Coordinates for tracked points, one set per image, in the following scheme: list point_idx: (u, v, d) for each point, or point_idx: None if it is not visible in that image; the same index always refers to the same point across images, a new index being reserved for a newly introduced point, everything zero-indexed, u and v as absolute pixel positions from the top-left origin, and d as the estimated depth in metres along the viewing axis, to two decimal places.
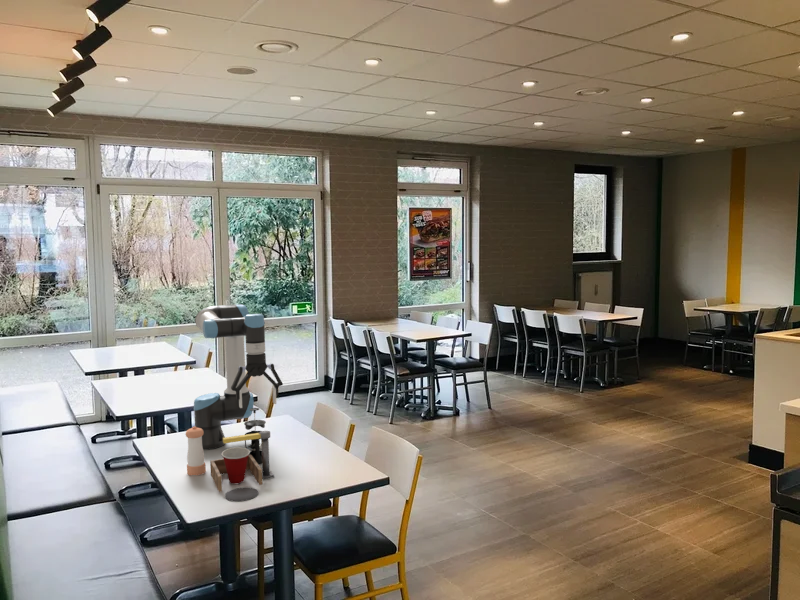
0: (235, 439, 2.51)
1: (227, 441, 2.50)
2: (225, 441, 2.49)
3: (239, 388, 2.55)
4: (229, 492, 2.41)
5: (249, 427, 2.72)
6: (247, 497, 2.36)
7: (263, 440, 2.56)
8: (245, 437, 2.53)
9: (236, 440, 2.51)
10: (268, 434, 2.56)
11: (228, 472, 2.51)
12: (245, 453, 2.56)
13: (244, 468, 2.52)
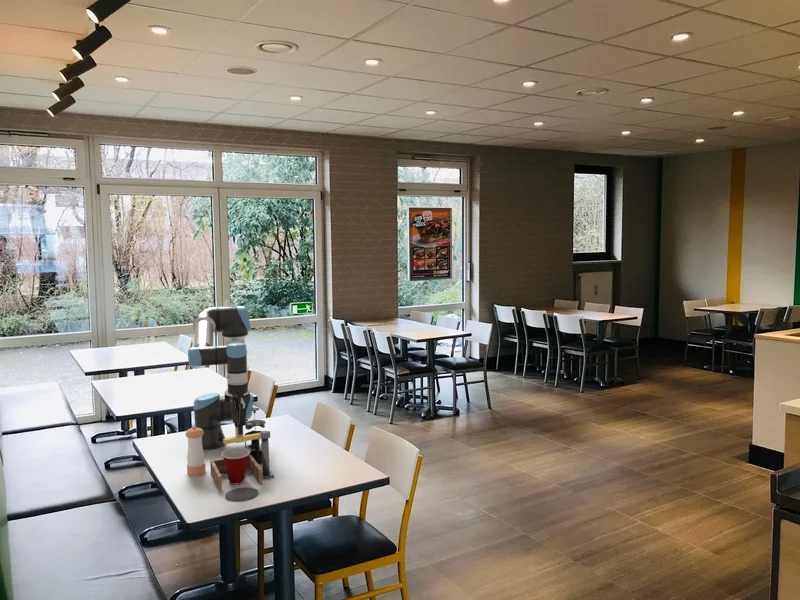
0: (236, 440, 2.50)
1: (228, 442, 2.49)
2: (226, 442, 2.48)
3: (234, 421, 2.54)
4: (229, 492, 2.41)
5: (249, 427, 2.72)
6: (247, 497, 2.36)
7: (263, 440, 2.56)
8: (246, 437, 2.52)
9: (237, 441, 2.50)
10: (268, 434, 2.56)
11: (228, 472, 2.51)
12: (245, 453, 2.56)
13: (244, 468, 2.52)
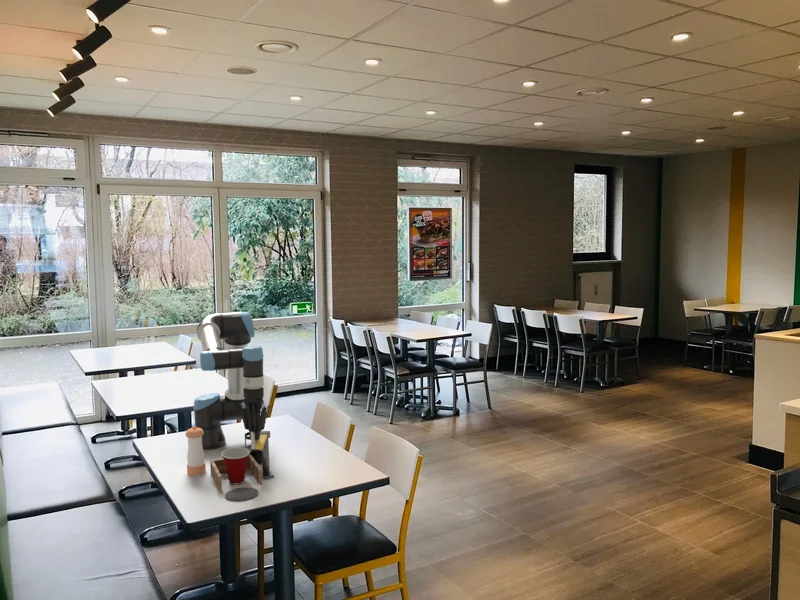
0: (263, 443, 2.45)
1: (262, 446, 2.42)
2: (262, 447, 2.42)
3: (249, 427, 2.46)
4: (229, 492, 2.41)
5: None
6: (247, 497, 2.36)
7: None
8: (265, 439, 2.49)
9: (264, 444, 2.46)
10: None
11: (228, 472, 2.51)
12: (245, 453, 2.56)
13: (244, 468, 2.52)
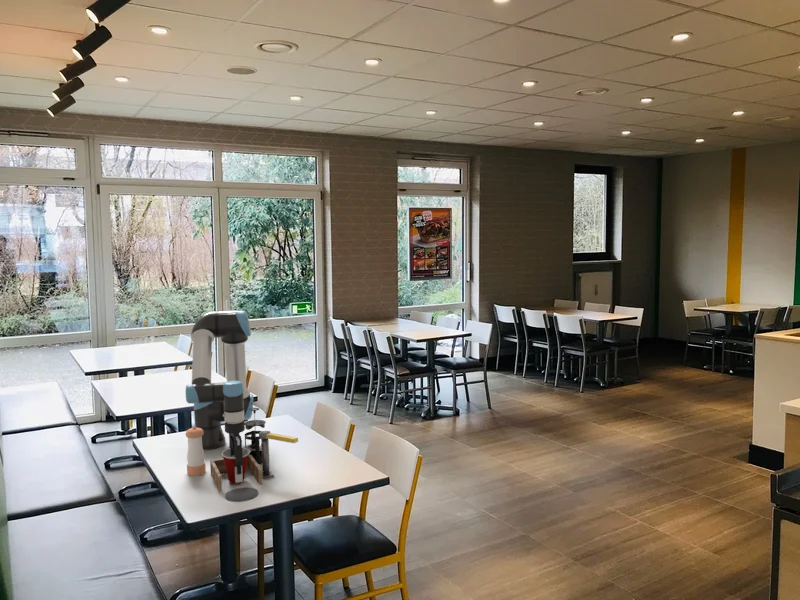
0: None
1: None
2: None
3: None
4: (229, 492, 2.41)
5: (249, 427, 2.72)
6: (247, 497, 2.36)
7: (263, 440, 2.56)
8: None
9: None
10: None
11: (228, 472, 2.51)
12: (245, 453, 2.56)
13: (244, 468, 2.52)
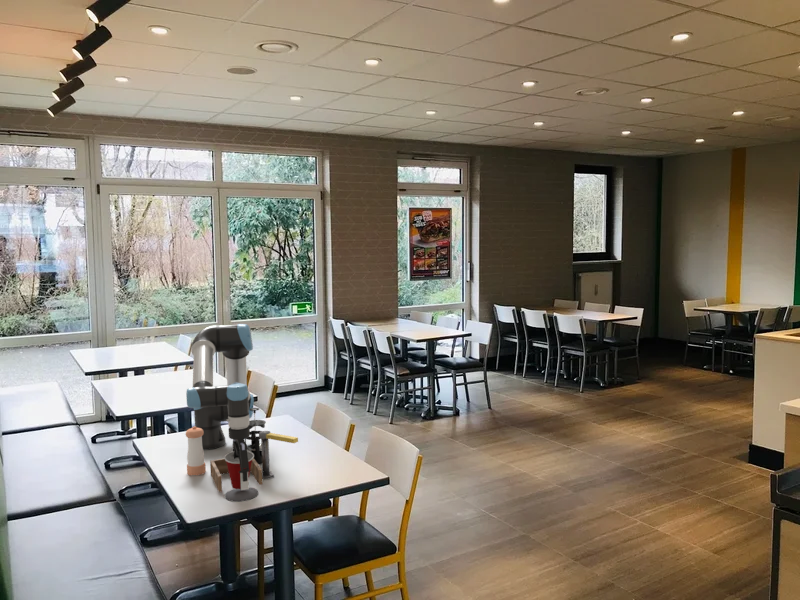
0: None
1: None
2: None
3: None
4: (229, 492, 2.41)
5: None
6: (247, 497, 2.36)
7: (263, 440, 2.56)
8: None
9: None
10: None
11: (231, 477, 2.39)
12: (249, 456, 2.44)
13: (248, 473, 2.40)
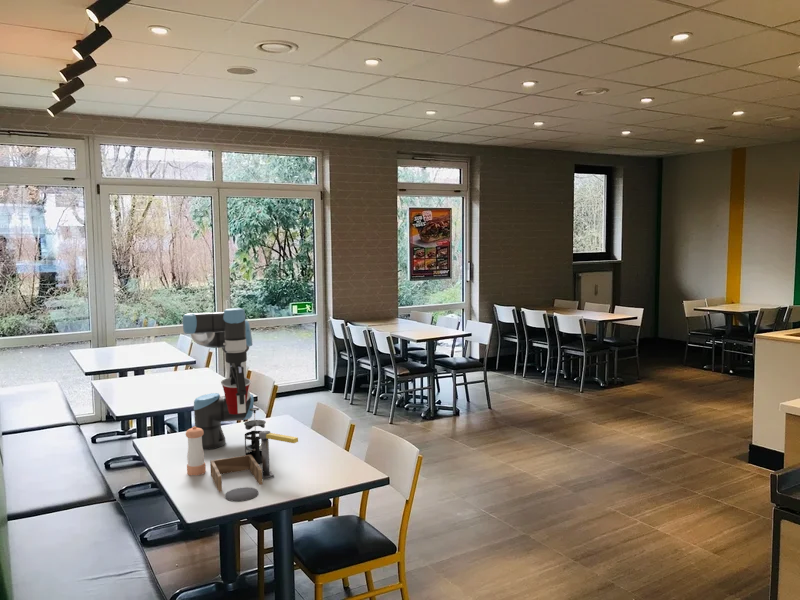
0: None
1: None
2: None
3: None
4: (229, 492, 2.41)
5: (249, 427, 2.72)
6: (247, 497, 2.36)
7: (263, 440, 2.56)
8: None
9: None
10: None
11: (228, 402, 2.36)
12: (246, 383, 2.42)
13: (245, 398, 2.38)
